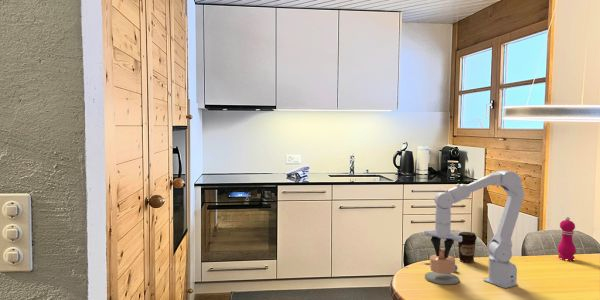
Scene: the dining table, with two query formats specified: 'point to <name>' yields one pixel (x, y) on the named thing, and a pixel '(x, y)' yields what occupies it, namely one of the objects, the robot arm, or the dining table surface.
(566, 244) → the pepper mill
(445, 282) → the slate plate
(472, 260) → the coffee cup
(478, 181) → the robot arm
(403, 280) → the dining table surface
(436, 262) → the lid with knob
